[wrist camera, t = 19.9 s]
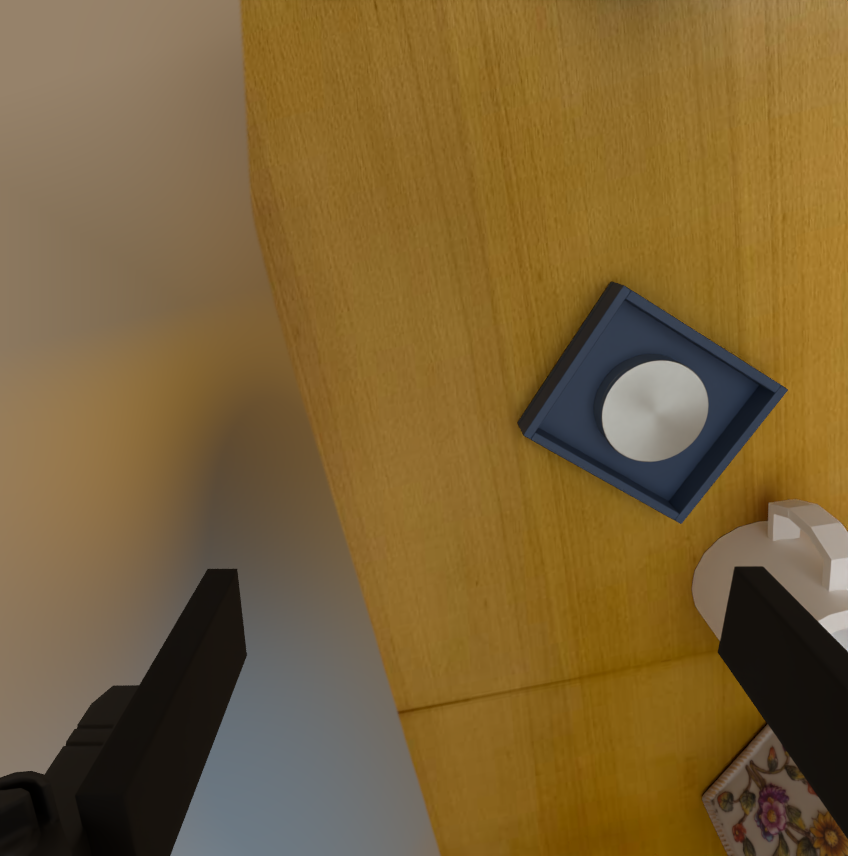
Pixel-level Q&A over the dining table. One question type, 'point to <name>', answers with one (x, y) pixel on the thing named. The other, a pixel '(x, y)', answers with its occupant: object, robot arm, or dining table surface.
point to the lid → (651, 407)
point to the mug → (782, 564)
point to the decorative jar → (770, 806)
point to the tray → (626, 338)
